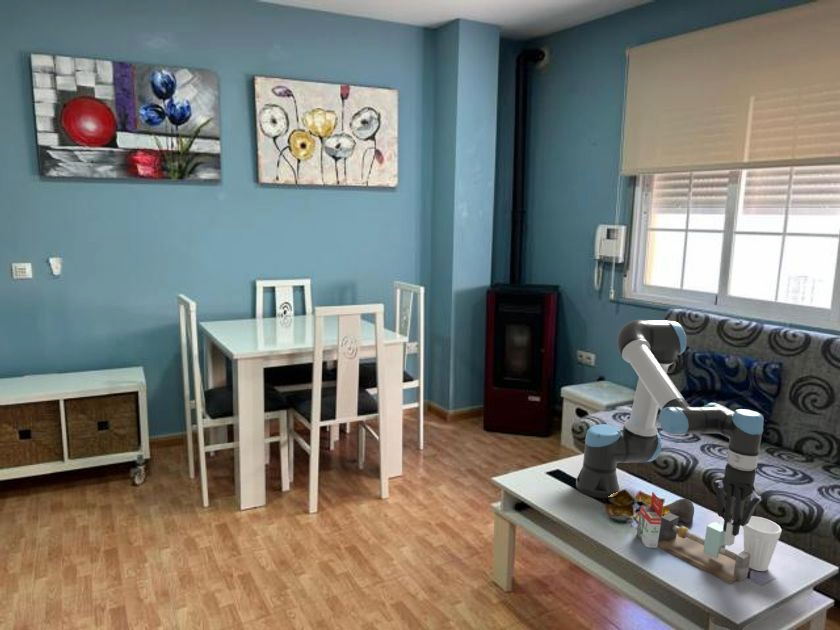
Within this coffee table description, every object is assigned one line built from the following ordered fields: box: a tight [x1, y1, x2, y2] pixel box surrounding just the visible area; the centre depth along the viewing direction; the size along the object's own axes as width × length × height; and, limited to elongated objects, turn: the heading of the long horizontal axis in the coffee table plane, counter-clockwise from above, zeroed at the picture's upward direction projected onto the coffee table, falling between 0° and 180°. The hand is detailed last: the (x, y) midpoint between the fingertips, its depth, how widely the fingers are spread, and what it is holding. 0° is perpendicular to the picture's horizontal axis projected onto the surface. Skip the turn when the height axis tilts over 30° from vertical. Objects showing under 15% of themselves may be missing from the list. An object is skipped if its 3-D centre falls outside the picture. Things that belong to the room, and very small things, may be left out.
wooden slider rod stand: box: [657, 513, 751, 584], centre depth 180 cm, size 25×11×8 cm, turn 37°
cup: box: [741, 515, 783, 572], centre depth 177 cm, size 10×10×13 cm
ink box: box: [636, 491, 664, 549], centre depth 187 cm, size 4×8×15 cm, turn 2°
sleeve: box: [703, 521, 727, 559], centre depth 177 cm, size 4×4×8 cm
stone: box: [667, 498, 695, 526], centre depth 203 cm, size 10×8×10 cm
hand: (728, 543), depth 174 cm, fingers closed
